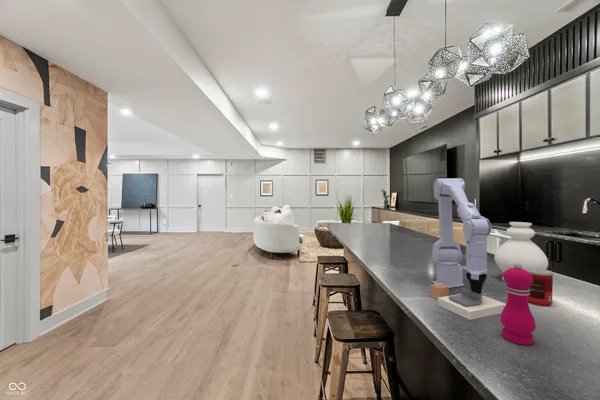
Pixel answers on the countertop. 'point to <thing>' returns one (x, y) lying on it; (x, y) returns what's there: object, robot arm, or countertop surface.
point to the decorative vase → (520, 249)
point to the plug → (439, 290)
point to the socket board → (473, 307)
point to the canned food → (540, 287)
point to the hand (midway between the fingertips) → (476, 295)
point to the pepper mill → (518, 306)
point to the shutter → (467, 298)
